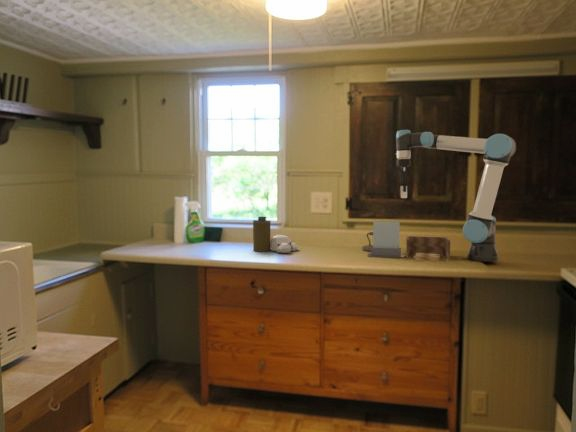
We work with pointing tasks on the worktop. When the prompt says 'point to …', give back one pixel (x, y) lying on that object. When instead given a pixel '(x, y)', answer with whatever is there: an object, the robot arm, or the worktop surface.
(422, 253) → the offcut top
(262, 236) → the canister
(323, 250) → the worktop surface
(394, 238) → the sheet
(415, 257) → the offcut middle
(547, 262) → the worktop surface
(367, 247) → the clothes iron
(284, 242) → the rock
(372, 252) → the grey block
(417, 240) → the rack
